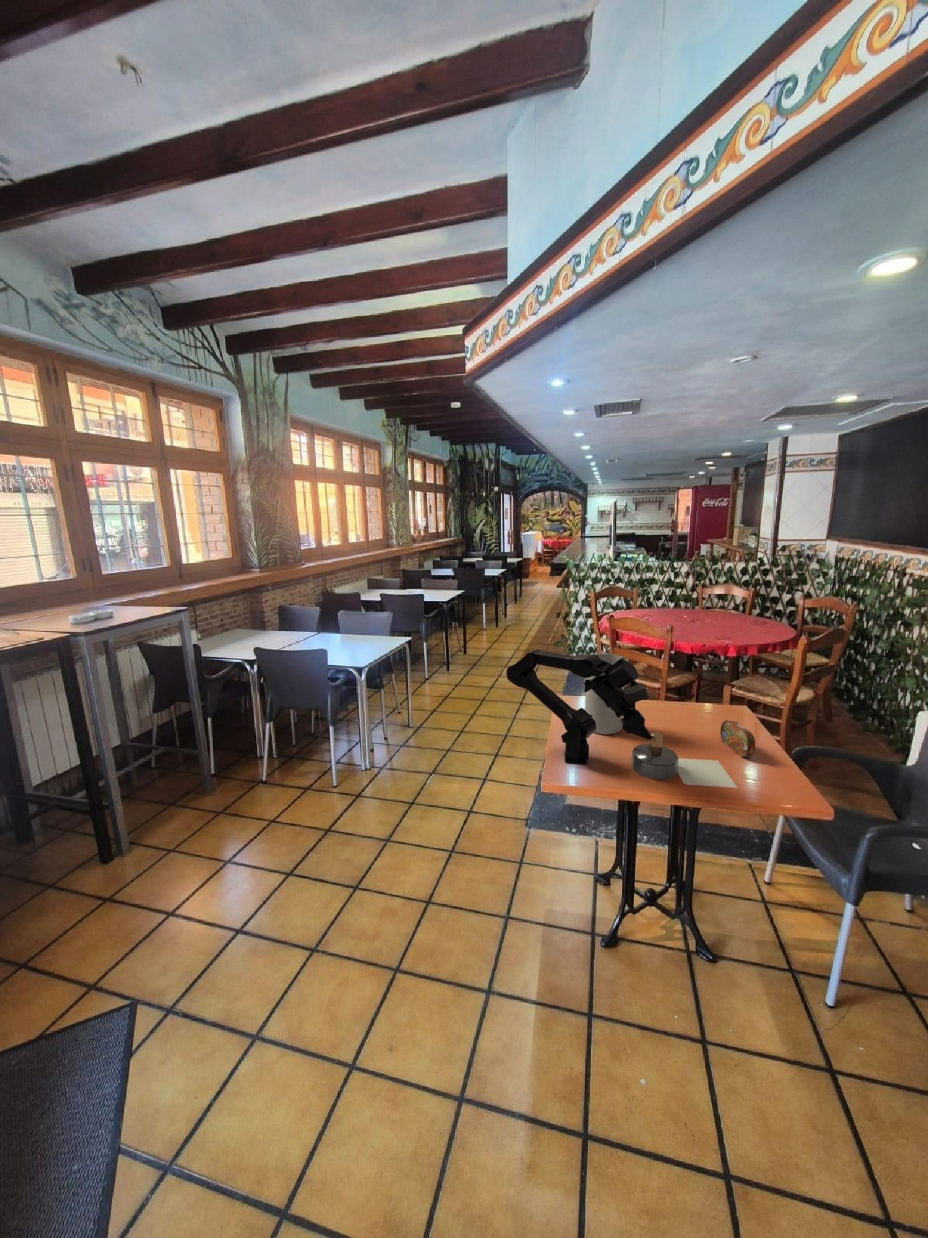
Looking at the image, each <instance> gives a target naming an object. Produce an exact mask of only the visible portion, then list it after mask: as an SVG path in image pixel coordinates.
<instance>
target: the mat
mask: <svg viewBox="0 0 928 1238" xmlns="http://www.w3.org/2000/svg"><path fill="white" fill-rule="evenodd" d="M677 774H678V775H679V777H680V780H681V781H682V782H683V784H684V785H691V786H706V787H717V788H718V787H719V788H733V789H735V788H736V789H738V786H737V785H736V783H735V782H734V781H733V779H732V777H731V776H730V775H729V774H728V771H726V769H725V768H724V767H723V766H722V764H721V762H719V760H712V759H710V760H709V759H699V758H698V759H694V758H682V757H681V758H678V769H677Z"/></svg>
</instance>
